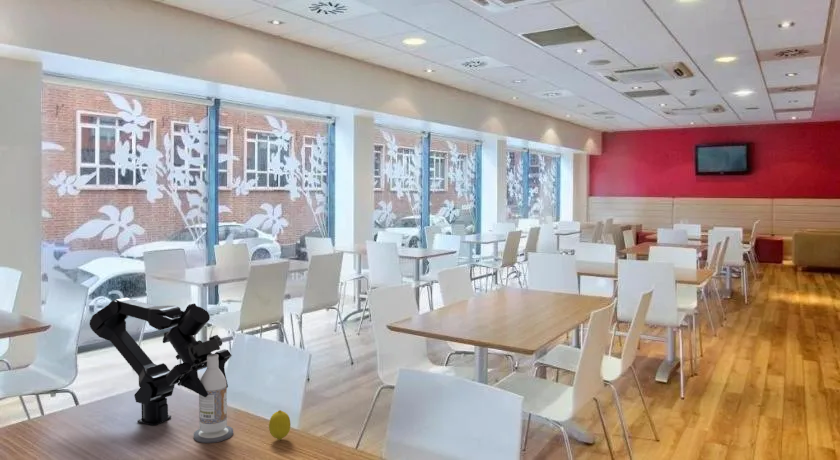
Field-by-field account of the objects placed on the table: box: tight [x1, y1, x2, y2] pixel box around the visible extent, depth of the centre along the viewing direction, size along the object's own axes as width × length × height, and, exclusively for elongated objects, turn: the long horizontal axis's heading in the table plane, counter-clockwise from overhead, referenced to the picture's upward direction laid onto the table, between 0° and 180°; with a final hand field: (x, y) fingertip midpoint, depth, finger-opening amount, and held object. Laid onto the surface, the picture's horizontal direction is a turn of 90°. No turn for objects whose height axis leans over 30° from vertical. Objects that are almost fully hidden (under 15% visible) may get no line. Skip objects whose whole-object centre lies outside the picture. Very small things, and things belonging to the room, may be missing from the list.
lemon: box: [268, 409, 291, 441], centre depth 159 cm, size 6×6×8 cm
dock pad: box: [193, 425, 234, 444], centre depth 161 cm, size 10×10×1 cm
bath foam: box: [198, 353, 228, 433], centre depth 160 cm, size 7×7×20 cm
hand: (216, 392), depth 160 cm, fingers closed on bath foam, 7 cm apart
